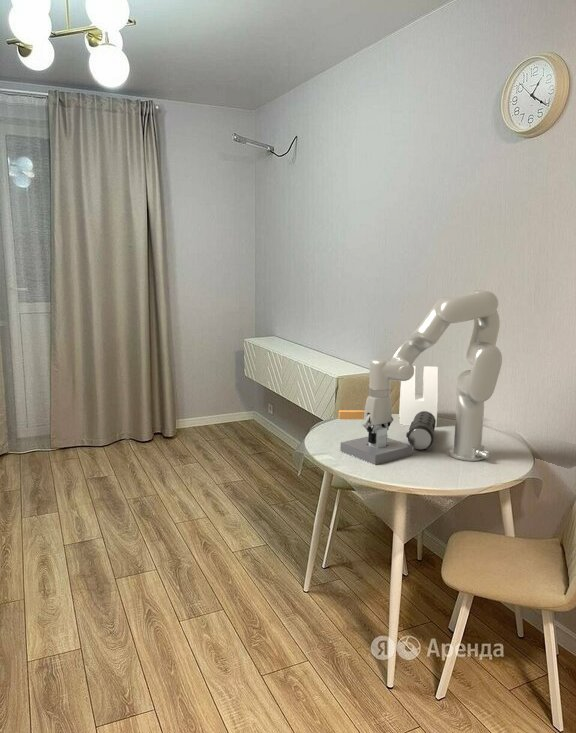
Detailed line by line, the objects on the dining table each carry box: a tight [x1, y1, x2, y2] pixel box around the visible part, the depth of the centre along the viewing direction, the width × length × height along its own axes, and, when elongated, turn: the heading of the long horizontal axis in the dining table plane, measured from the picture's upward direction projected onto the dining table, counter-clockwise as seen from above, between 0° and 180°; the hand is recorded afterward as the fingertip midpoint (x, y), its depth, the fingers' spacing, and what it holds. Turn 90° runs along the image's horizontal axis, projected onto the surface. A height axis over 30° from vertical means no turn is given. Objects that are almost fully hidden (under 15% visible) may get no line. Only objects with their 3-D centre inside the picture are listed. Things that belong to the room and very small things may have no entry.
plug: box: [369, 426, 389, 449], centre depth 209 cm, size 5×5×10 cm
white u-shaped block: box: [398, 365, 439, 427], centre depth 256 cm, size 19×15×25 cm
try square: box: [338, 409, 381, 426], centre depth 219 cm, size 16×2×10 cm, turn 93°
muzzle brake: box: [405, 411, 437, 451], centre depth 226 cm, size 10×28×10 cm
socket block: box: [339, 436, 414, 466], centre depth 211 cm, size 18×19×4 cm
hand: (377, 441), depth 209 cm, fingers closed on plug, 4 cm apart
